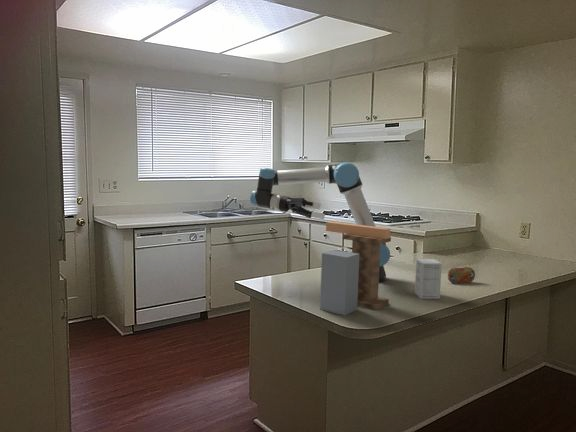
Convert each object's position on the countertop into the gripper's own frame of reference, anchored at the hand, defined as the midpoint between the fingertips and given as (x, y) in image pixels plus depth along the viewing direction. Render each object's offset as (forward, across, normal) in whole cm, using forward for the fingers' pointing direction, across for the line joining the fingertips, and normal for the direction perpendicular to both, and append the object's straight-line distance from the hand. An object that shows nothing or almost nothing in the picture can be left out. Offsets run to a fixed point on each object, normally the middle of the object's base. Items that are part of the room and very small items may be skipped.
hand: (322, 211), depth 230 cm
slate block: (+21, +9, -44) cm, 50 cm away
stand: (+29, -3, -37) cm, 47 cm away
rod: (+20, +9, -10) cm, 24 cm away
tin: (+69, -50, -6) cm, 86 cm away
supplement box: (+54, -22, -23) cm, 63 cm away
